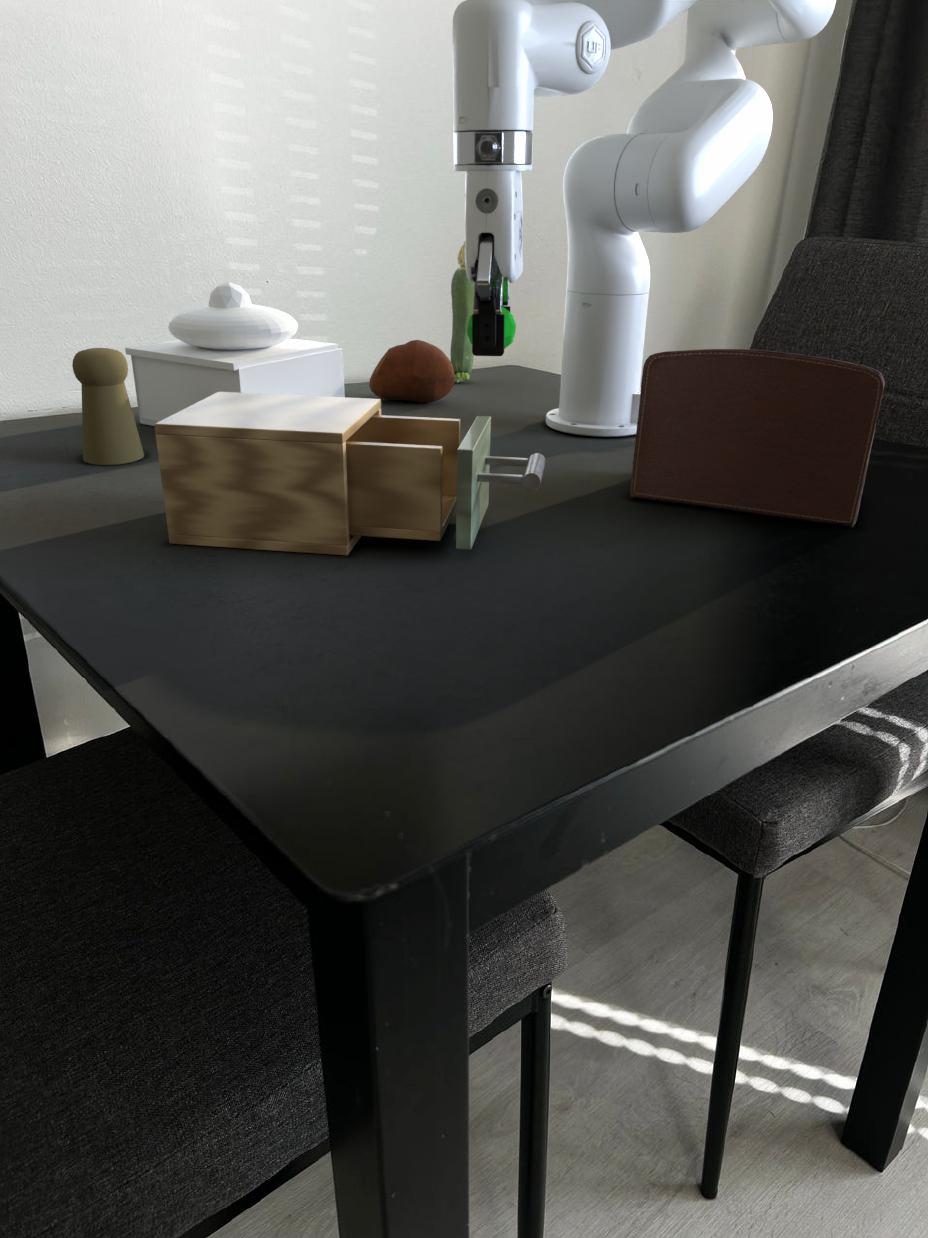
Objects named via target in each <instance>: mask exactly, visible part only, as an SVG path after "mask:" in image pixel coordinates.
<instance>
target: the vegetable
mask: <svg viewBox="0 0 928 1238" xmlns="http://www.w3.org/2000/svg"><path fill="white" fill-rule="evenodd" d="M457 264H458V265H459V267H458V268H457V269H456V270H455V271H454V273H453V275H452V278H451V284H450V296H451V311H452V312H451V313H452V326H451V341H450V352H449V353H450V361H451V363H452V365H453V370H454V376H455V378H454V380H455V382H456V383H459V382H462V383H465V382H467V381H469V380H470V374H471V373H472V370H473V367H474V359H475V358H474V357H475V355H473V353H472V344H471V342H470V340H469V337H468V334H467V329H468V323H469V319H470V316H471V315H472V314H474V313H473V303H474V283H472V282H471V281H470V280H469V279H468V278H467V275H466V260H465V240H464V241H463V245H461V246H460V248H459V250H458V253H457Z"/></svg>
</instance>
